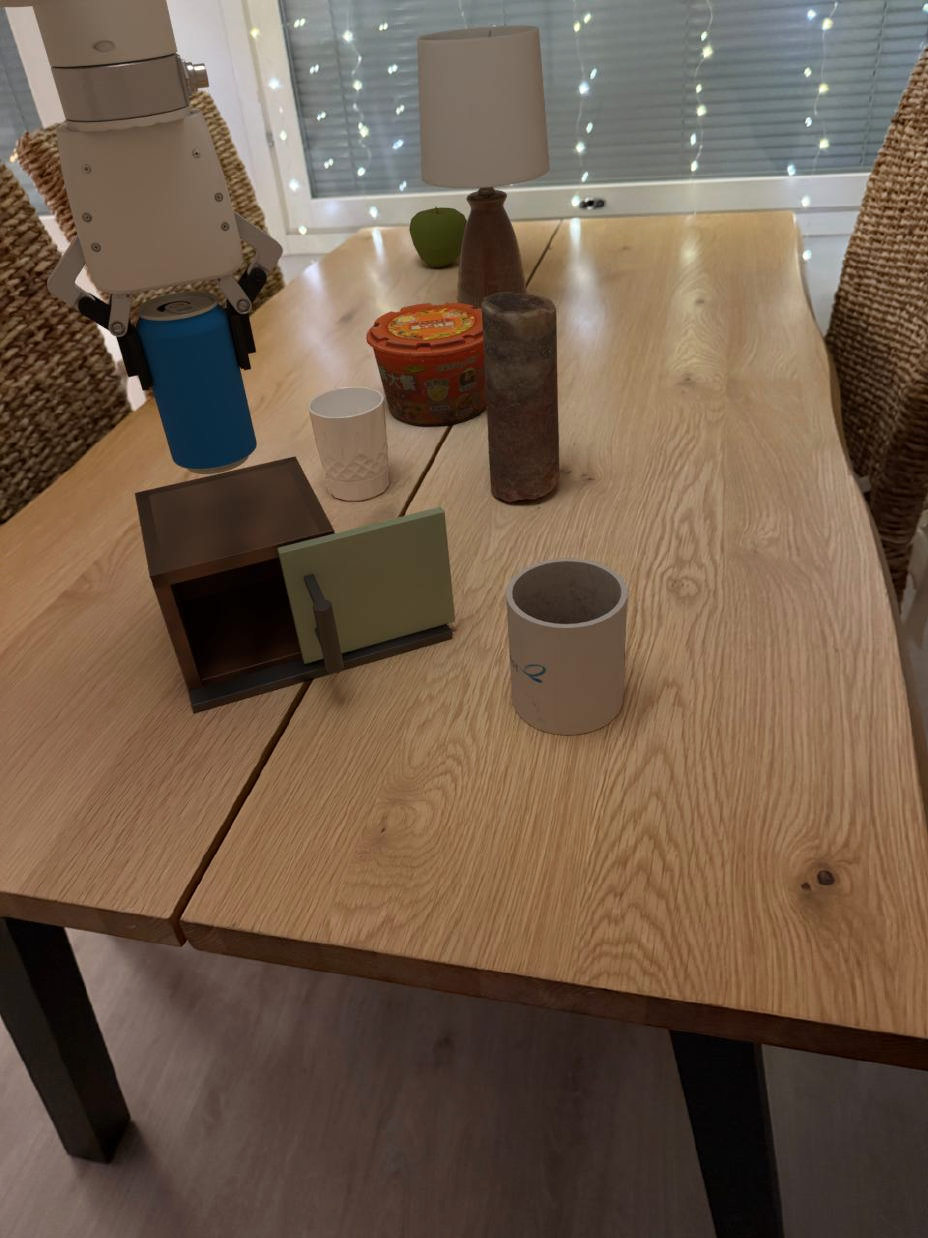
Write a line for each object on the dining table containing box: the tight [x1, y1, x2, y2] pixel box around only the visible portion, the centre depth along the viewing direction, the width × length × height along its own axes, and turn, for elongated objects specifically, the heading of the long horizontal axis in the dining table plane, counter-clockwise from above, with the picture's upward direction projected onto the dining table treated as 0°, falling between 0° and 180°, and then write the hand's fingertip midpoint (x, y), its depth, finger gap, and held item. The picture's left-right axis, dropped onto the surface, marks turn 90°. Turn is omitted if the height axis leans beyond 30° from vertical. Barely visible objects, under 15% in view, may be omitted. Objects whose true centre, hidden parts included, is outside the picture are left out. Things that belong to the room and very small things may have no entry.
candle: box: [481, 292, 560, 503], centre depth 92 cm, size 8×7×20 cm
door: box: [277, 506, 456, 674], centre depth 72 cm, size 13×6×11 cm, turn 111°
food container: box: [365, 301, 487, 427], centre depth 114 cm, size 16×16×11 cm
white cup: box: [307, 385, 390, 502], centre depth 98 cm, size 8×8×10 cm
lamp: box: [416, 24, 550, 309], centre depth 135 cm, size 19×19×37 cm
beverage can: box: [135, 290, 258, 475], centre depth 68 cm, size 6×6×12 cm
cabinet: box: [134, 455, 453, 714], centre depth 78 cm, size 22×16×12 cm
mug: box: [505, 557, 629, 736], centre depth 70 cm, size 12×9×10 cm
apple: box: [408, 206, 468, 268], centre depth 164 cm, size 11×10×10 cm
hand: (194, 371), depth 67 cm, fingers closed on beverage can, 6 cm apart
